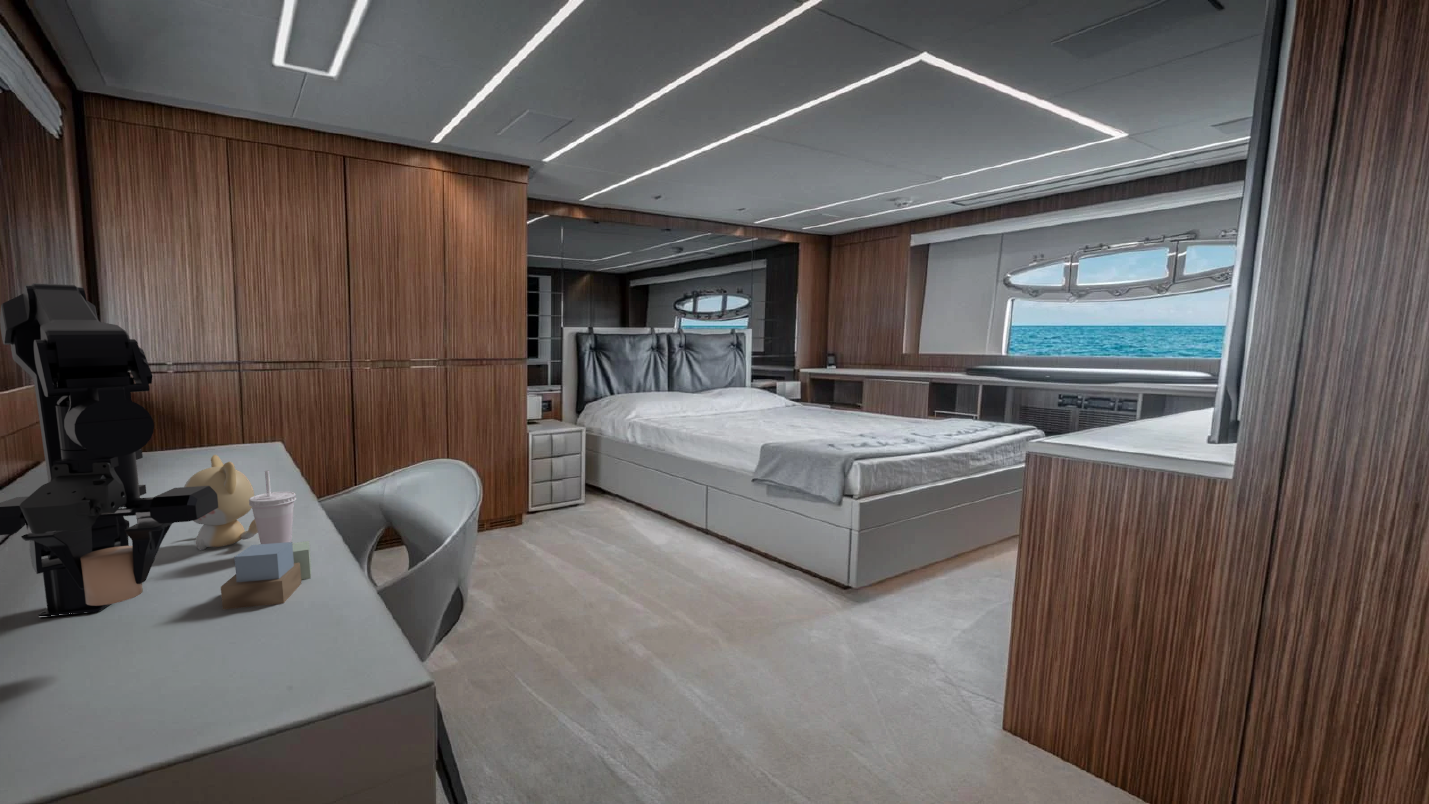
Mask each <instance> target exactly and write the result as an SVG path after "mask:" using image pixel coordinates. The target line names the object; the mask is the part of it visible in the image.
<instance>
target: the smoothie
mask: <svg viewBox="0 0 1429 804" xmlns="http://www.w3.org/2000/svg"><path fill="white" fill-rule="evenodd" d="M264 476H265V488H266V492H265V493H260V494H256V495H254V496H253V497H251V498H250V499H249V506H252V508H251V511H252V514H253V517H254V518H253V519H255V522H256V527H257V531H258V533H257V535H258V538H259V539H258V540H259V542H260V544H272V543H286V542H292V536H293V522H294V521H293V520H294V508H295V507H294V505H295V501H297V497H296V496H297V494H296V493H295V492H293V491H272V490H271V480H270V479H271V478H270V477H271V475H270V470H265V471H264Z"/></svg>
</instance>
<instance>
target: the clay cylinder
mask: <svg viewBox="0 0 1429 804" xmlns="http://www.w3.org/2000/svg"><path fill="white" fill-rule="evenodd" d="M81 565H82V574H83V582H84V591H85V600H86V604H87V605H92V606H97V605H107V604H110V605H113V604H117V603H121V602H125V601H128V600H131V599H133V598H135V597H138V596H140V595H141V594H142V593H144V588H143V583H141V584H137V583H136V580H135V576H134V568H133V548H132V545H129V546H119V547H112V548H106V549H102V550H97V551H94V552H91V553H88V554H85V555H83V556H82V557H81Z"/></svg>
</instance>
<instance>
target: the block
mask: <svg viewBox="0 0 1429 804" xmlns="http://www.w3.org/2000/svg"><path fill="white" fill-rule="evenodd" d="M292 546H293V560H294V563H300V570H301V581H303V580H308V579H311V578H312V577H311V576H312V561H311V560H312V559H311V549H310V548H311V547H310V546H311V545H310V540H307V541H300V542H292Z"/></svg>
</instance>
